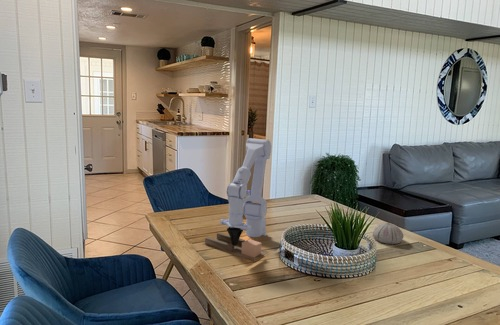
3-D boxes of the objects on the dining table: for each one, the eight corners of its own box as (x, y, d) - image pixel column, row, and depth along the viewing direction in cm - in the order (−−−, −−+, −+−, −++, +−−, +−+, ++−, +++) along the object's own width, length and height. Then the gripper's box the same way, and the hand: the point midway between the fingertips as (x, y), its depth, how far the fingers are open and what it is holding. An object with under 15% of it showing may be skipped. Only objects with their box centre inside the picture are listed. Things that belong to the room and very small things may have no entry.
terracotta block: (248, 249, 157) (249, 239, 157) (261, 253, 154) (261, 242, 153) (241, 253, 153) (241, 242, 153) (253, 257, 150) (254, 246, 149)
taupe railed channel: (220, 237, 172) (220, 230, 171) (270, 253, 157) (270, 245, 156) (199, 247, 161) (199, 239, 160) (251, 264, 146) (251, 255, 145)
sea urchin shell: (392, 248, 168) (394, 230, 166) (365, 238, 178) (367, 222, 176) (408, 242, 176) (410, 225, 174) (381, 233, 186) (383, 217, 185)
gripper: (215, 211, 157) (214, 243, 159) (244, 218, 149) (243, 252, 151) (226, 207, 163) (225, 238, 165) (255, 214, 154) (253, 246, 157)
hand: (234, 244), depth 158 cm, fingers closed
